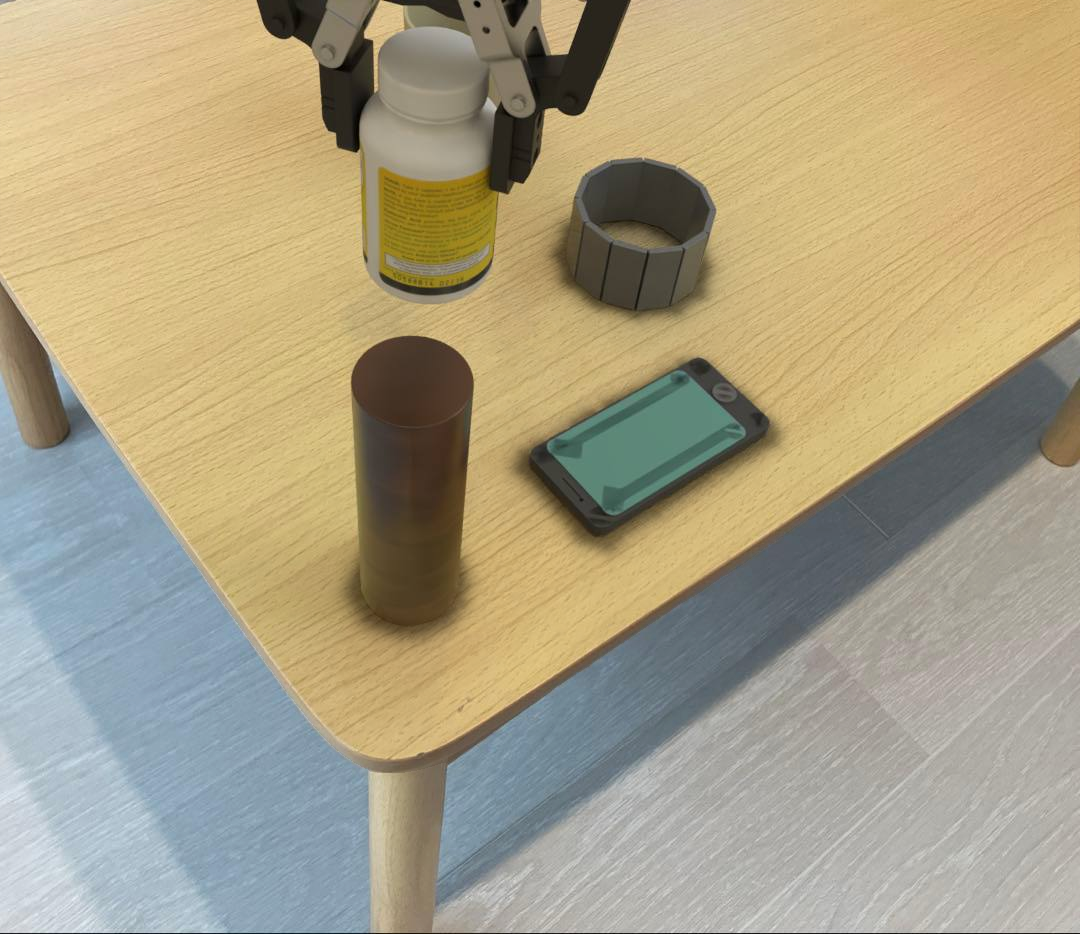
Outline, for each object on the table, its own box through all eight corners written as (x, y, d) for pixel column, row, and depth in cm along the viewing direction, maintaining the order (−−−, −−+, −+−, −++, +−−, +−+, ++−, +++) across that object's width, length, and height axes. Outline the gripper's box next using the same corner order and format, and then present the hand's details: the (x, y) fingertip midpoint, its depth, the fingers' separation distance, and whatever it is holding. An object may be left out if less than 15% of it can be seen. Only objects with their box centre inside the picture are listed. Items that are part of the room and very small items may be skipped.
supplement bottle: (517, 281, 49) (539, 79, 41) (404, 327, 47) (404, 123, 39) (450, 204, 52) (458, -1, 44) (339, 244, 49) (327, 37, 42)
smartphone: (775, 421, 77) (599, 529, 70) (770, 433, 78) (596, 540, 71) (699, 350, 80) (524, 447, 73) (695, 362, 81) (522, 459, 74)
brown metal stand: (470, 558, 70) (489, 353, 55) (439, 637, 66) (451, 442, 52) (381, 531, 70) (377, 321, 56) (346, 608, 67) (331, 407, 52)
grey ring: (710, 236, 88) (726, 178, 84) (683, 324, 83) (699, 267, 78) (586, 203, 89) (595, 144, 85) (551, 288, 84) (560, 229, 79)
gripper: (126, -360, 30) (212, 170, 43) (673, -234, 29) (586, 273, 42) (253, -446, 34) (295, 59, 48) (731, -341, 33) (635, 149, 46)
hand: (431, 157), depth 45 cm, fingers closed on supplement bottle, 5 cm apart
